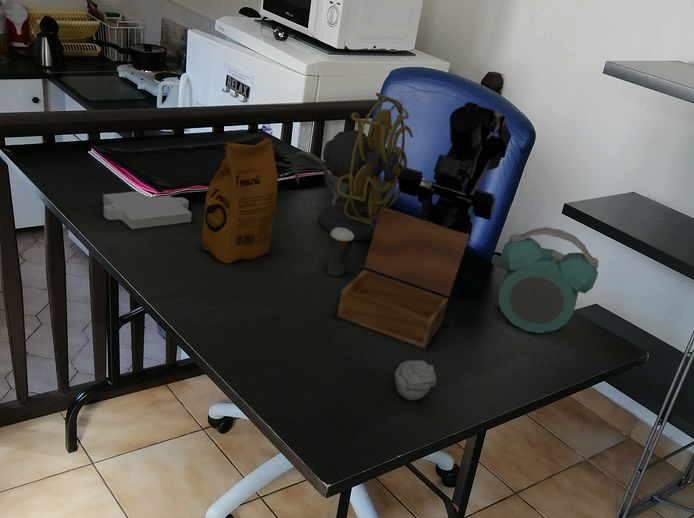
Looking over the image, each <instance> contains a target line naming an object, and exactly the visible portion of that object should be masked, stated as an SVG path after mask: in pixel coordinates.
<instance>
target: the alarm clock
mask: <svg viewBox="0 0 694 518" xmlns="http://www.w3.org/2000/svg"><path fill="white" fill-rule="evenodd" d="M541 235H543V236H544V235H547V236H550V237H554V238H558V239H561V240H564V241H567V242H570V243H571V244H572V245H574V246H575V247H577V248H578V249H579V250H580V251H581V252H567V254H563V253H562V252H561V251H558V250H556V249H553V248H544V247H542V246H541V244H540V242H538V241H536V240H535V239H534V238H532V236H541ZM499 259H500V265H501V268H502V269H505V270H506V273H505V275H504V278H503V280H502V283H501V285H500V288H499V294H498V303H499V306H500V312H502V314H503V315H504V317H505V318H507V319H508V321H509V322H510V323H511V324H512V325H513V326H516V327H518V328H520V329H521V330H523V331H525V332H530V333H537V334H542V333H549V332H554V331H558V330H559V329H560V328H561V327H564V325H566V324H567V323H568V322H569V320H570V318H571V317H572V316H573V314H574V313H575V310H576V305H577V301H578V296H579V293H581V294H587V293H588V292H590V291H591V290H592V289H593V288H594V286H595V284H596V281H597V279H598V275H599V271H598V268H599V260H598V258H597V257H594V256H593V255H592V254H590V252H589V250H588V248H587V246H586V245H585V244H584V243H583V242H582V241H581V240H580V239H579V238H578V237H576V235H574V234H572V233H570V232H568V231H565V230H563V229H559V228H553V227H549V226H546V227H537V228H533V229H531V230H528V231H526V232H524V233H520V234H517V233H513V234H511V235H510V237H509V238H508V241H507V242H506V243H504V245H503V248H502V250H501V254H500V258H499Z"/></svg>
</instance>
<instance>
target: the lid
mask: <svg viewBox="0 0 694 518" xmlns="http://www.w3.org/2000/svg"><path fill="white" fill-rule="evenodd" d="M380 209H381V211H380V214H379V215H378V221H377V224H376V228H375V231H374V235H373V238H371V242H370V245H369V249H368V251H367V255H366V259H365V262H364V265H363V268H365V269H366V270H367V269H368V270H370V271H374V272H375V273H376V272H377V273H379V274H382V275H385V276H387V277H389V278H390V277H391V278H392V279H396V280H399V281H401V282H405V283H407V284H410V285H413V286H415V287H416V286H417V287H418V288H421V289H422V288H423V289H424V290H425V289H426V290H427V291H430V292H434V293H436V294H439V295H441V296H442V295H443V296H446V297H447V298H448V297H450V296H451V294H452V290H453V287H454V284H455V282H456V278H457V275H458V272H459V269H460V267H461V263H462V260H463V258H464V254H465V250H466V248H467V245H468V242H469V241H468V239H469V236H470V235H468V234H464V233H461V232H458V231H455V230H452V229H449V228H446V227H443V226H440V225H437V224H434V223H431V222H428V220H427V221H424V220H421V218H418V217H415V216H412V215H409V214H407V213H402V212H399V211H396V210H393V209H390V208H384V207H380Z"/></svg>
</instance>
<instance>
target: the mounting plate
mask: <svg viewBox="0 0 694 518" xmlns="http://www.w3.org/2000/svg"><path fill="white" fill-rule="evenodd" d="M102 196H103V197H102V204H103V217H104V218H105V219H106V220H110V221H115V220H120V221H122V222H123V223H124V224H126V225H127V226H128V227H129V228H130V229H131V230H135V229H136V230H137V229H144V228H153V227H160V226H169V225H176V224H177V225H178V224H183V223H191V222H192V215H193V213H192V212H191V211H190V210H189V203H190V202H189V200H188V199H187V198H185V197H173V196H171V195H169V196H165V197H148V196H145V195H144V194H142V193H140V192H139V190H138V191H127V192H115V193H107V194H106V193H105V194H103V195H102Z"/></svg>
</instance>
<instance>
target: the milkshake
mask: <svg viewBox="0 0 694 518" xmlns="http://www.w3.org/2000/svg"><path fill="white" fill-rule="evenodd" d="M359 230H360V229H359ZM357 233H358V232H357ZM357 233H356V234H357ZM354 237H355V236H354V235H353V233H352V232H351V231H349V230H348V229H346V228H334V229H333V230H332V231H331V233H329V244H328V245H329V248H328V257H327V266H326V272H327V274H329V275H330V276H333V277H341V276H343V275H344V273H345V269H346V266H347V263H348V258H349V255H350V252H351V249H352V245H353V242H354V240H353V239H354Z"/></svg>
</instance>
